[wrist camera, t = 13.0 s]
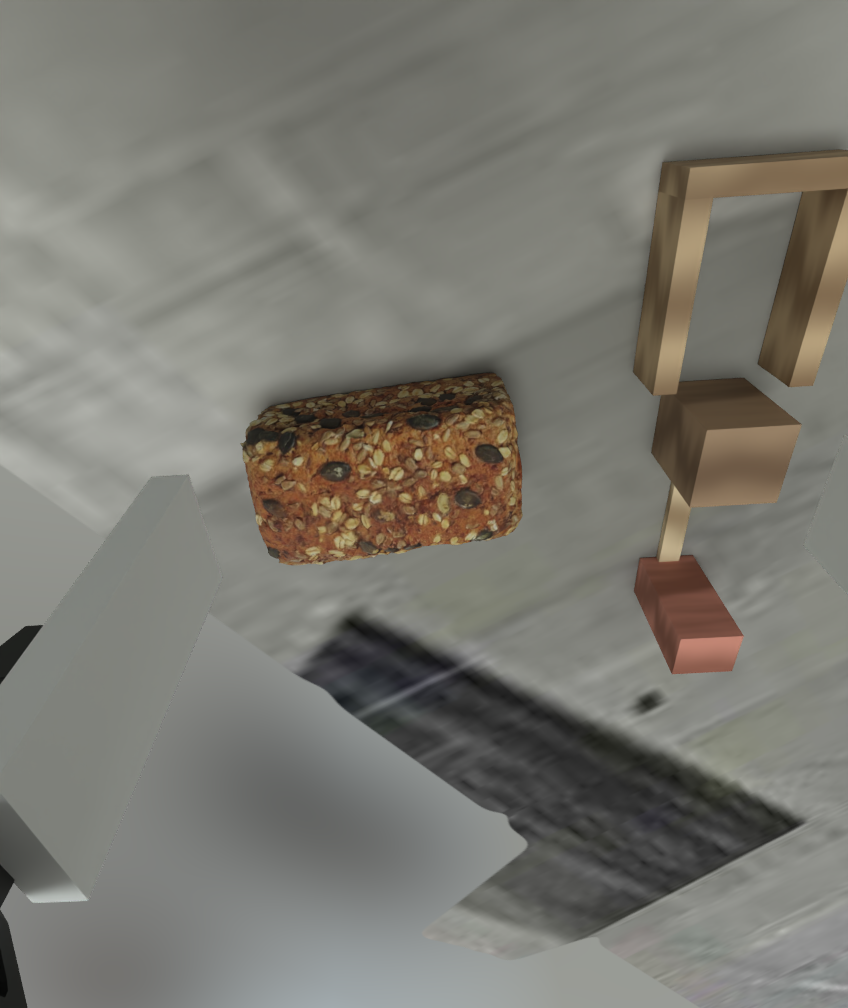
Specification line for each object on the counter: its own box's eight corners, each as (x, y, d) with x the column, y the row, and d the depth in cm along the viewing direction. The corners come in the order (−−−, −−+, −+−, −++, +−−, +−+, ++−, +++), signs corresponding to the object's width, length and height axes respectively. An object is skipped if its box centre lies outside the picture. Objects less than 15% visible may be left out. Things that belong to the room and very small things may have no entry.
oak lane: (662, 162, 36) (690, 167, 33) (839, 149, 36) (887, 153, 33) (633, 372, 44) (652, 395, 40) (779, 362, 44) (812, 385, 40)
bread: (293, 508, 51) (269, 586, 42) (258, 393, 45) (222, 457, 36) (510, 482, 49) (530, 557, 41) (503, 361, 44) (523, 419, 35)
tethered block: (663, 382, 44) (720, 444, 36) (743, 377, 44) (819, 438, 36) (627, 591, 56) (664, 674, 48) (691, 587, 56) (739, 670, 48)
